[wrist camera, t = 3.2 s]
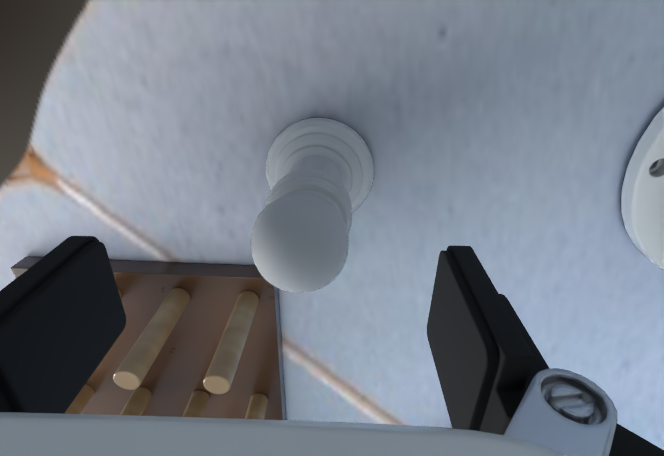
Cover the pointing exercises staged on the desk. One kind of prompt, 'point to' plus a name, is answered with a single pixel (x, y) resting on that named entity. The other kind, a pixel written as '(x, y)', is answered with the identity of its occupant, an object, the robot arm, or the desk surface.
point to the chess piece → (310, 203)
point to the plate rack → (189, 344)
